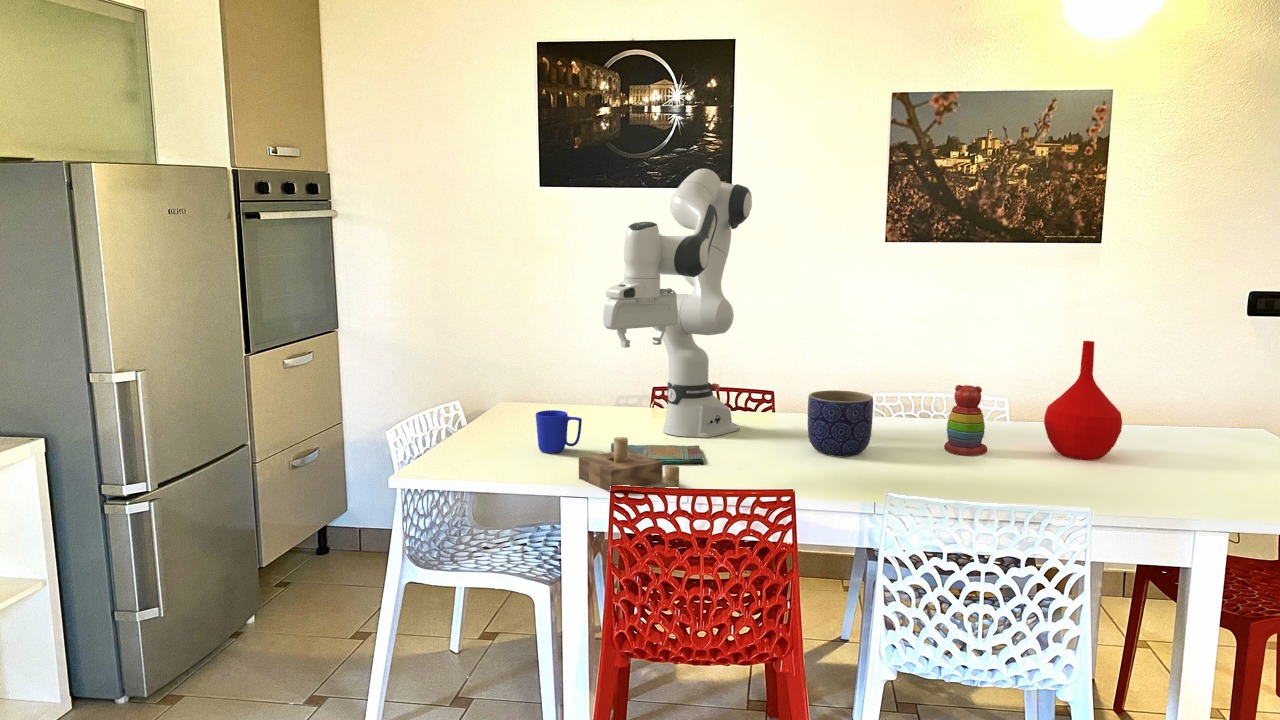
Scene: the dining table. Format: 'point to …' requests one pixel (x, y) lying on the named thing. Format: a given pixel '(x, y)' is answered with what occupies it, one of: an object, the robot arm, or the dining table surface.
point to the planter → (840, 422)
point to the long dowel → (620, 449)
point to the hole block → (620, 470)
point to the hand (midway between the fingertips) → (641, 345)
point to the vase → (1083, 416)
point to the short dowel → (671, 476)
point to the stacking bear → (966, 423)
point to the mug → (554, 430)
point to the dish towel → (669, 453)
